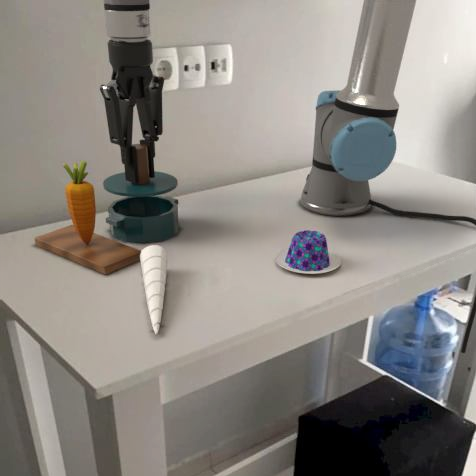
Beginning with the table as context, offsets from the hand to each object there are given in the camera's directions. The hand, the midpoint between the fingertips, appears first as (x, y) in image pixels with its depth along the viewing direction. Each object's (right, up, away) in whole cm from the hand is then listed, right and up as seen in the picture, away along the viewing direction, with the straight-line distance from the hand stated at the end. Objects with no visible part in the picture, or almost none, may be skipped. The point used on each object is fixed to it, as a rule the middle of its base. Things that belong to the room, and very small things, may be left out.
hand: (140, 178), depth 121 cm
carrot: (-9, -14, -4) cm, 17 cm away
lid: (0, -1, +1) cm, 1 cm away
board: (-9, -15, -3) cm, 18 cm away
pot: (0, -8, +6) cm, 10 cm away
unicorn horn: (+6, -26, -17) cm, 32 cm away
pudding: (+31, -18, -6) cm, 37 cm away
